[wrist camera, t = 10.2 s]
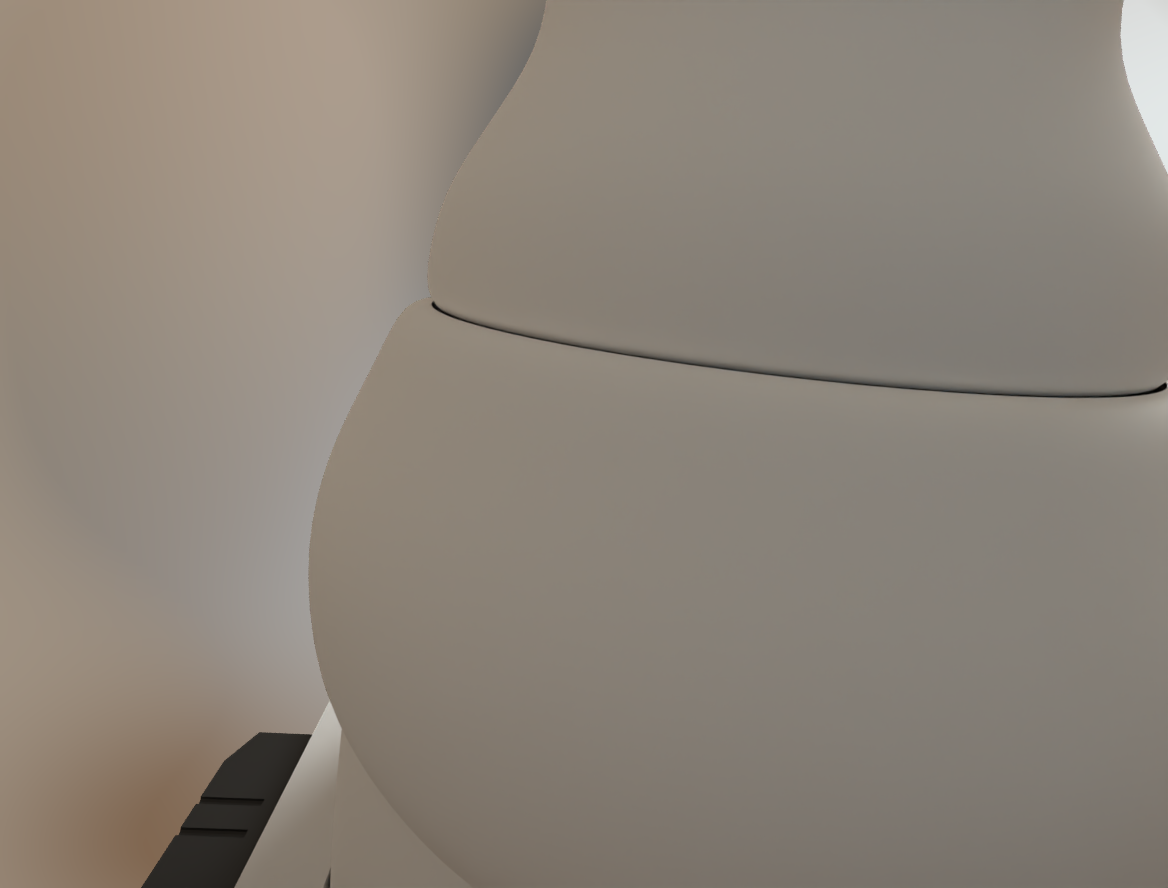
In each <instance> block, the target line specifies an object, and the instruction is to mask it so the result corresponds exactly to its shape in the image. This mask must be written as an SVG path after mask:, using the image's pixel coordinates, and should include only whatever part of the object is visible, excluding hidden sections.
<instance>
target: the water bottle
mask: <svg viewBox="0 0 1168 888" xmlns="http://www.w3.org/2000/svg"><path fill="white" fill-rule="evenodd" d="M1122 6H1123V0H546V6H545V12H544V16H543V20H542V25H541V29H540V32H539V35H538V38H537V40H536V43H535V46H534V49H533V51H532V53H531V55H530V57H529V59H528V61H527V63H526V65H525V68H524V69H523V71H522V73H521V74H520V76H519V78H518V80H517V81H516V83H515V85H514V86H513V88H512V89H511V91H510V93H509V94H508V96H507V97H506V99H505V100H504V102H503V103H502V105H501V106H500V108H499V109H498V111H497V112H496V114H495V115H494V117H493V118H492V120H491V121H490V123H489V124H488V126H487V127H486V128H485V130H484V131H483V133H482V135H481V136H480V137H479V139H478V140H477V142H476V143H475V145H474V146H473V148H472V150H471V151H470V153H469V154H468V156H467V157H466V159H465V160H464V162H463V164H462V165H461V167H460V169H459V170H458V172H457V174H456V176H455V178H454V179H453V181H452V183H451V186H450V188H449V190H448V192H447V194H446V197H445V199H444V202H443V204H442V207H441V210H440V213H439V217H438V220H437V223H436V227H435V231H434V235H433V239H432V244H431V250H430V255H429V262H428V275H427V278H428V288H429V292H430V295H431V297H428V298H425V299H422V300H419V301H416V302H414V303H413V304H411V305H410V306H408V307H407V308H406V309H405V310H404V311H403V312H402V314H401V315H400V316H399V317H398V319H397V321H396V322H395V324H394V325H393V327H392V329H391V331H390V332H389V335H388V336H387V338H386V340H385V342H384V344H383V346H382V348H381V350H380V352H379V354H378V356H377V358H376V360H375V362H374V364H373V366H372V368H371V370H370V372H369V374H368V376H367V378H366V380H365V382H364V384H363V386H362V388H361V390H360V392H359V394H358V396H357V397H356V400H355V401H354V403H353V405H352V407H351V409H350V411H349V414H348V416H347V418H346V420H345V422H344V424H343V426H342V428H341V431H340V433H339V435H338V437H337V440H336V442H335V445H334V447H333V450H332V452H331V455H330V458H329V461H328V463H327V466H326V469H325V472H324V475H323V479H322V482H321V486H320V489H319V493H318V497H317V502H316V507H315V512H314V517H313V522H312V530H311V539H310V549H309V598H310V614H311V622H312V629H313V637H314V644H315V649H316V653H317V657H318V662H319V666H320V670H321V674H322V678H323V682H324V685H325V688H326V691H327V694H328V696H329V699H330V702H331V704H332V707H333V709H334V712H335V714H336V717H337V719H338V721H339V724H340V726H341V728H342V730H341V740H340V750H339V761H338V771H337V781H336V793H335V808H334V823H333V837H332V853H331V876H330V888H1168V174H1167V172H1166V170H1165V168H1164V166H1163V163H1162V161H1161V159H1160V157H1159V154H1158V152H1157V150H1156V148H1155V146H1154V144H1153V141H1152V139H1151V137H1150V135H1149V133H1148V131H1147V128H1146V126H1145V124H1144V121H1143V119H1142V117H1141V114H1140V112H1139V110H1138V107H1137V105H1136V103H1135V100H1134V97H1133V94H1132V92H1131V89H1130V86H1129V83H1128V80H1127V76H1126V72H1125V67H1124V63H1123V59H1122V49H1121V38H1120V32H1121V16H1122Z"/></svg>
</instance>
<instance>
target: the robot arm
mask: <svg viewBox="0 0 1168 888" xmlns="http://www.w3.org/2000/svg"><path fill="white" fill-rule="evenodd" d="M341 730H342V728H341V726H340V724H339V721H338V719H337V717H336V714H335V712H334V709H333V707H332V704H331V702H330V701H329V703H328V705H327V707H326V709H325V711H324V713H323V715H322V717H321V719H320V721H319V723H318V725H317V727H316V729H315V731H314V733H313V734H312V735H309V734H283V733H262V732H260V733H258V734H257V735H256V736H254V737H253V738H252V739H251V740H249V741H248V742H247V743H246V744H245V745H243V746H242V747H241V748H240V749H238V750H237V751H236V752H235V753H234V754H232V755H231V756H230V757H229V758H227V759H226V760H225V761H224V762H223V764H222V765H221V767H220V768H219V770H218V772H217V773H216V774H215V776H214V778H213V779H212V781H211V782H210V783H209V785H208V787H207V788H206V790H205V791H204V793H203V794H202V796H201V800H200V803H199V804H196V805H195V806H194V808H193V809H192V811H191V813H190V814H189V816H188V817H187V819H186V820H185V822H184V823H183V825H182V826H181V830H180V833H179V835H176V836H175V837H174V838H173V840H172V842H171V843H170V844H169V846H168V848H167V849H166V851H165V852H164V854H163V855H162V857H161V858H160V860H159V861H158V863H157V864H156V866H155V867H154V869H153V870H152V872H151V873H150V875H149V877H148V878H147V880H146V881H145V883H144V884H143V886H142V887H141V888H330V876H331V853H332V837H333V823H334V808H335V793H336V781H337V771H338V761H339V750H340V740H341Z"/></svg>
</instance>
